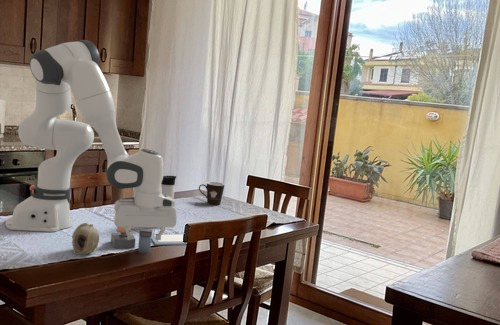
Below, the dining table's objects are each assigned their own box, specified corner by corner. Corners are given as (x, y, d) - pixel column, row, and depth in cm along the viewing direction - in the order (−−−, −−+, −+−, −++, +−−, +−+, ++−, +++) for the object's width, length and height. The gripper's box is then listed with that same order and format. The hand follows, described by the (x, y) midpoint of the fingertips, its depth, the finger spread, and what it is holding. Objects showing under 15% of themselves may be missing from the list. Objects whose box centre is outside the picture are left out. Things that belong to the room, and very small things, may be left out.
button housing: (113, 248, 174) (114, 239, 174) (110, 241, 181) (111, 233, 180) (134, 247, 177) (135, 239, 177) (131, 241, 184) (131, 232, 183)
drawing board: (155, 245, 182) (155, 243, 182) (148, 235, 192) (149, 233, 192) (193, 244, 188) (194, 242, 187) (185, 235, 197) (185, 233, 197)
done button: (117, 241, 176) (118, 228, 175) (115, 237, 180) (116, 224, 179) (130, 241, 178) (131, 228, 177) (128, 237, 182) (129, 224, 181)
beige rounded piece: (72, 256, 170) (68, 225, 170) (99, 251, 173) (95, 221, 174) (74, 257, 161) (70, 225, 162) (102, 251, 164) (98, 220, 165)
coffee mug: (225, 204, 255) (228, 184, 253) (215, 206, 247) (217, 186, 246) (206, 199, 261) (208, 179, 259) (196, 201, 253) (198, 181, 252)
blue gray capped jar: (139, 253, 172) (140, 232, 171) (136, 249, 176) (138, 229, 175) (151, 252, 174) (153, 232, 173) (149, 248, 178) (150, 228, 177)
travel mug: (168, 227, 205) (173, 177, 202) (152, 224, 206) (157, 175, 203) (174, 223, 211) (178, 175, 208) (158, 221, 212) (163, 173, 209)
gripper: (116, 200, 165) (113, 242, 167) (179, 202, 173) (175, 242, 174) (113, 196, 171) (110, 236, 172) (175, 197, 178) (171, 236, 180)
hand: (144, 239), depth 174 cm, fingers open, 8 cm apart
